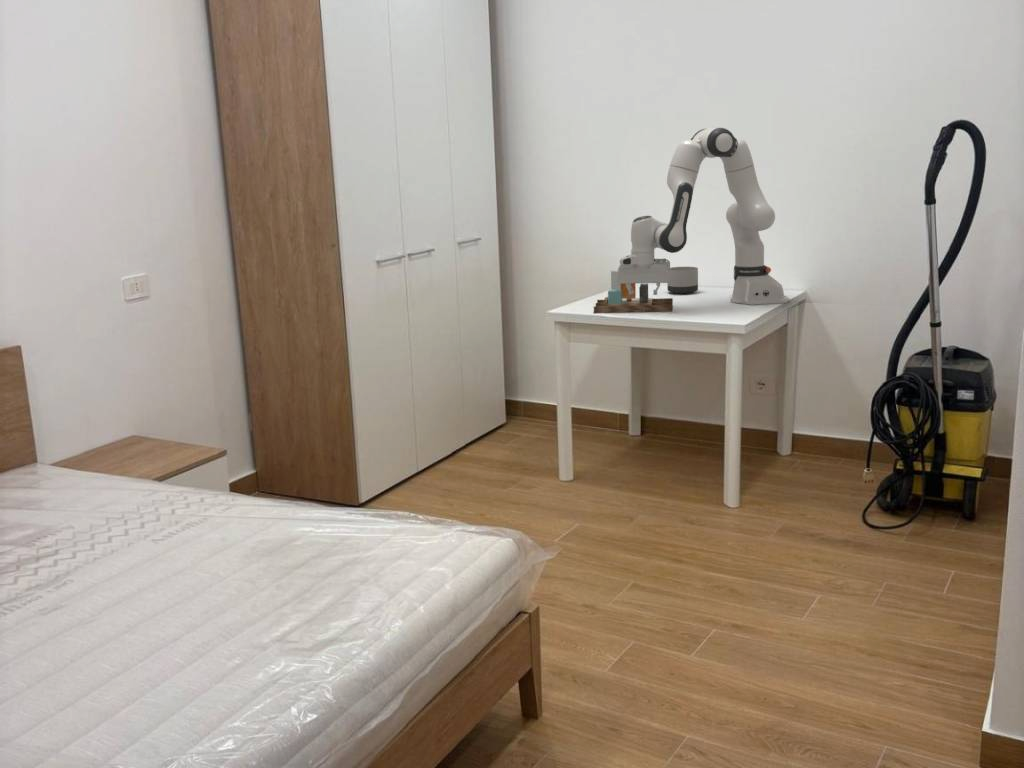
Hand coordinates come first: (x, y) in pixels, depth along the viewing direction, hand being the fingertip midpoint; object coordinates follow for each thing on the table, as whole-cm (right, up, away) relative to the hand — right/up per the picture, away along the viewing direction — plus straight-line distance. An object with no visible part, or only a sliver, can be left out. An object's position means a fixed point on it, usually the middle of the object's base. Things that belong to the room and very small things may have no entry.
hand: (643, 294), depth 380 cm
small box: (-5, -1, +24) cm, 25 cm away
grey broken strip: (-4, -3, +10) cm, 11 cm away
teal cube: (-11, -3, +3) cm, 11 cm away
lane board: (-3, -5, +6) cm, 8 cm away
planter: (+22, +4, +39) cm, 45 cm away
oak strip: (-5, -5, +2) cm, 8 cm away
